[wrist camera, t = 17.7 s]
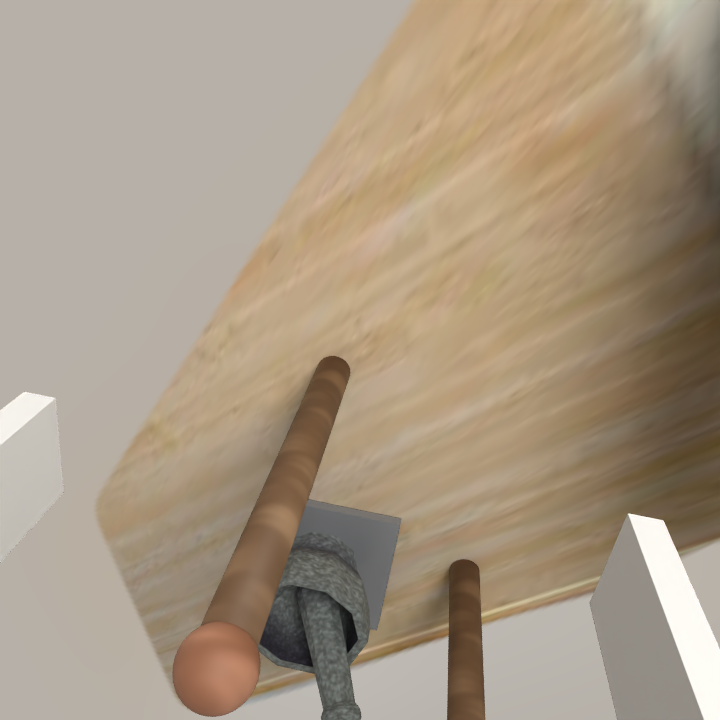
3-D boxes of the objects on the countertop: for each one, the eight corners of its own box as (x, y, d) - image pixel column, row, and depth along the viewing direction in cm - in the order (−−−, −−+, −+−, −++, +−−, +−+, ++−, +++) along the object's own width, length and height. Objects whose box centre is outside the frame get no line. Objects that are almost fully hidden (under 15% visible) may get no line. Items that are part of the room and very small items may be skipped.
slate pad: (401, 518, 51) (400, 525, 50) (378, 622, 56) (377, 630, 55) (267, 490, 51) (265, 497, 51) (257, 596, 57) (255, 603, 56)
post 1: (358, 355, 45) (248, 687, 21) (352, 394, 46) (243, 745, 23) (314, 347, 45) (157, 666, 22) (310, 386, 47) (158, 725, 23)
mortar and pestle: (241, 552, 54) (187, 676, 43) (314, 494, 50) (275, 615, 39) (336, 629, 56) (308, 764, 45) (413, 580, 52) (401, 715, 42)
